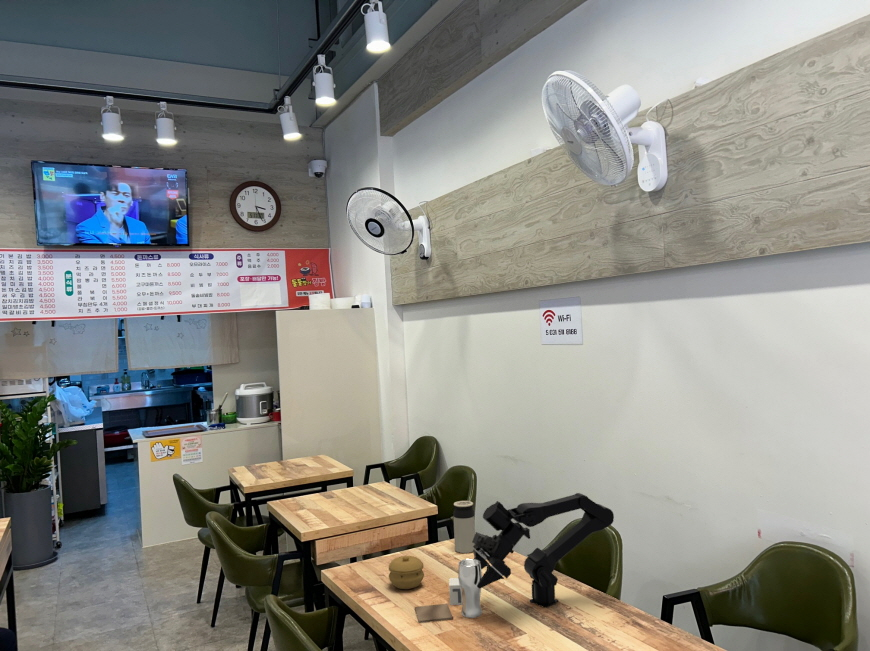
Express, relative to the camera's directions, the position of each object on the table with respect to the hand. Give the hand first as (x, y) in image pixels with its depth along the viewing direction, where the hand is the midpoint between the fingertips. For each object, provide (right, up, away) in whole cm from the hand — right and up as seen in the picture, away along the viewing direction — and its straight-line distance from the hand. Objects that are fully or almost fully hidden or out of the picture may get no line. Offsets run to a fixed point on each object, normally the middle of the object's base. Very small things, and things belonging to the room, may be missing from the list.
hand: (473, 581), depth 191 cm
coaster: (-12, -10, 0) cm, 15 cm away
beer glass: (0, -9, 0) cm, 9 cm away
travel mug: (0, -11, +57) cm, 58 cm away
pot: (-21, -11, +23) cm, 33 cm away
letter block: (-4, -10, +9) cm, 14 cm away
